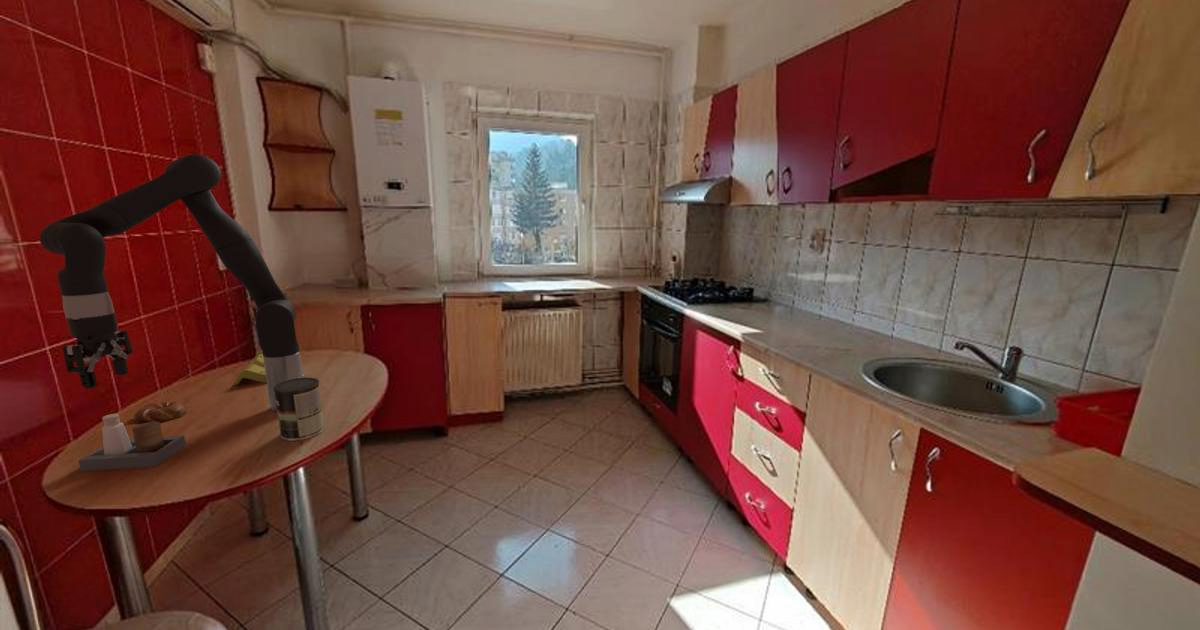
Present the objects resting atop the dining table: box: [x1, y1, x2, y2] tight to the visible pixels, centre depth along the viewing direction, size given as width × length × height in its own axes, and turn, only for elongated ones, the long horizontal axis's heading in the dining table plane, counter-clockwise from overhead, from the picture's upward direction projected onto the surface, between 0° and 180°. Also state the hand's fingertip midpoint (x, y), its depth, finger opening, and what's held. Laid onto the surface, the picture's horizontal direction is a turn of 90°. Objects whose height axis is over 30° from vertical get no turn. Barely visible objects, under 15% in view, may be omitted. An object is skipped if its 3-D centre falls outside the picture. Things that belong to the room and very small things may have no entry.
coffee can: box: [273, 377, 325, 442], centre depth 126 cm, size 10×10×14 cm
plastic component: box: [233, 349, 267, 386], centre depth 169 cm, size 20×7×10 cm
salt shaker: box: [101, 413, 132, 455], centre depth 110 cm, size 5×5×11 cm
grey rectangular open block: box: [78, 435, 187, 472], centre depth 112 cm, size 15×10×4 cm, turn 99°
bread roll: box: [133, 401, 187, 424], centre depth 136 cm, size 12×11×4 cm
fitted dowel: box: [131, 422, 165, 453], centre depth 111 cm, size 5×5×8 cm
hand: (107, 380), depth 108 cm, fingers open, 8 cm apart
